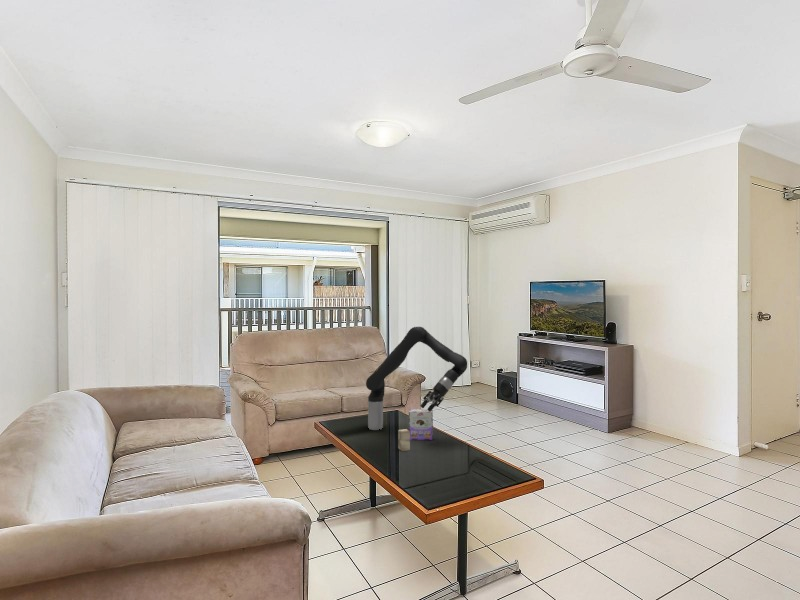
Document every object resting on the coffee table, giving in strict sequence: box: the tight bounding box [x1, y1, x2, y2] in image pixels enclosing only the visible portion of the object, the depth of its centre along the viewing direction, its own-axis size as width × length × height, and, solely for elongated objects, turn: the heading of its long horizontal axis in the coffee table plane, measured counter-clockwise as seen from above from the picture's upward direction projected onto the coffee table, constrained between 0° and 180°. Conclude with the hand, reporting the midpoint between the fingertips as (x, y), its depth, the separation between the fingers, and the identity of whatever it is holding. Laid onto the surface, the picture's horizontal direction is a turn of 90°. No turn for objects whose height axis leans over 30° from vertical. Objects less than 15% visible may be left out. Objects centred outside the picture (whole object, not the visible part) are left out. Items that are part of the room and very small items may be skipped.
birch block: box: [397, 428, 411, 452], centre depth 239 cm, size 5×5×10 cm
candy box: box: [408, 408, 434, 441], centre depth 258 cm, size 14×6×16 cm, turn 84°
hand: (425, 408), depth 244 cm, fingers open, 8 cm apart
